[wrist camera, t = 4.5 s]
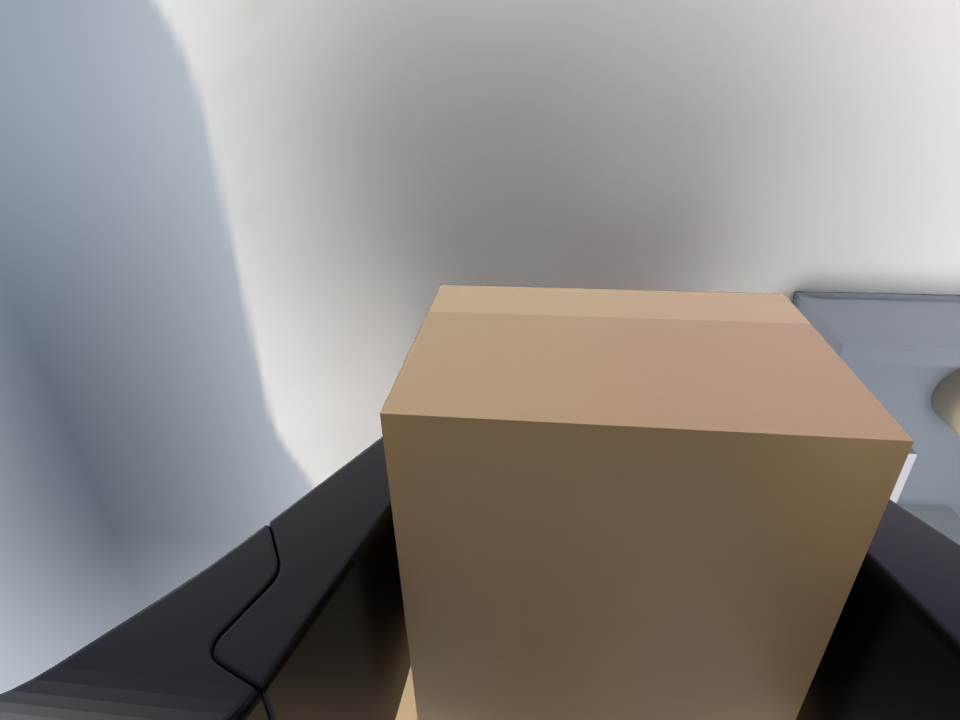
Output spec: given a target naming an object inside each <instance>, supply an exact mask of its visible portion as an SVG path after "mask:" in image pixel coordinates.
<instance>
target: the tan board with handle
mask: <svg viewBox="0 0 960 720" xmlns="http://www.w3.org/2000/svg"><path fill="white" fill-rule="evenodd" d="M380 417H381V426H382V434H383V442H384V450H385V458H386V466H387V475H388V483H389V491H390V499H391V507H392V515H393V524H394V532H395V540H396V548H397V556H398V564H399V572H400V581H401V589H402V597H403V605H404V613H405V621H406V630H407V638H408V646H409V654H410V662H411V667H410V670H409V674H408V677H407V681H406V684H405V688H404V691H403V695H402V698H401V702H400V705H399V709H398V712H397V716H396V719H395V720H796V718H797V715H798V713H799V711H800V708H801V706H802V704H803V701H804V699H805V697H806V694H807V692H808V689H809V687H810V685H811V682H812V680H813V678H814V675H815V673H816V671H817V668H818V666H819V664H820V661H821V659H822V657H823V654H824V652H825V649H826V647H827V645H828V642H829V640H830V638H831V635H832V633H833V631H834V628H835V626H836V624H837V621H838V619H839V617H840V614H841V612H842V609H843V607H844V605H845V602H846V600H847V598H848V595H849V593H850V591H851V588H852V586H853V584H854V581H855V579H856V577H857V574H858V572H859V569H860V567H861V565H862V562H863V560H864V558H865V555H866V553H867V551H868V548H869V546H870V544H871V541H872V539H873V537H874V534H875V532H876V530H877V527H878V525H879V522H880V520H881V518H882V515H883V513H884V511H885V508H886V506H887V504H888V501H889V499H890V497H891V494H892V492H893V490H894V487H895V485H896V482H897V480H898V478H899V475H900V473H901V471H902V468H903V466H904V464H905V461H906V459H907V457H908V454H909V452H910V450H911V447H912V445H913V442H914V441H913V439H912V438H911V437H910V436H909V435H908V434H907V433H906V432H905V430H904V429H903V428H902V427H901V426H900V425H899V424H898V422H897V421H896V420H895V419H894V418H893V417H892V416H891V414H890V413H889V412H888V411H887V410H886V409H885V408H884V407H883V405H882V404H881V403H880V402H879V401H878V400H877V399H876V397H875V396H874V395H873V394H872V393H871V392H870V391H869V389H868V388H867V387H866V386H865V385H864V384H863V383H862V382H861V380H860V379H859V378H858V377H857V376H856V375H855V374H854V372H853V371H852V370H851V369H850V368H849V367H848V366H847V365H846V363H845V362H844V361H843V360H842V359H841V358H840V357H839V355H838V354H837V353H836V352H835V351H834V350H833V349H832V347H831V346H830V345H829V344H828V343H827V342H826V341H825V340H824V338H823V337H822V336H821V335H820V334H819V333H818V332H817V330H816V329H815V328H814V327H813V326H812V325H811V324H810V323H809V321H808V320H807V319H806V318H805V317H804V316H803V315H802V313H801V312H800V311H799V310H798V309H797V308H796V307H795V305H794V304H793V303H792V302H791V301H790V300H789V299H788V298H787V296H786V295H785V294H769V293H732V292H694V291H656V290H618V289H581V288H543V287H505V286H467V285H441V286H440V288H439V290H438V292H437V294H436V296H435V298H434V300H433V303H432V305H431V307H430V309H429V311H428V313H427V315H426V317H425V319H424V322H423V324H422V326H421V328H420V330H419V332H418V334H417V336H416V338H415V341H414V343H413V345H412V347H411V349H410V351H409V353H408V355H407V357H406V360H405V362H404V364H403V366H402V368H401V370H400V372H399V374H398V376H397V379H396V381H395V383H394V385H393V387H392V389H391V391H390V393H389V395H388V398H387V400H386V402H385V404H384V406H383V408H382V410H381V412H380Z"/></svg>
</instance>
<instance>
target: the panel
mask: <svg viewBox="0 0 960 720" xmlns="http://www.w3.org/2000/svg"><path fill="white" fill-rule="evenodd" d="M792 303H793V304H794V305H795V307H796V308H797V309H798V310H799V311H800V312H801V313H802V315H803V316H804V317H805V318H806V319H807V320H808V321H809V323H810V324H811V325H812V326H813V327H814V328H815V329H816V330H817V332H818V333H819V334H820V335H821V336H822V337H823V338H824V340H825V341H826V342H827V343H828V344H829V345H830V346H831V347H832V349H833V350H834V351H835V352H836V353H837V354H838V355H839V357H840V358H841V359H842V360H843V361H844V362H845V363H846V365H847V366H848V367H849V368H850V369H851V370H852V371H853V372H854V374H855V375H856V376H857V377H858V378H859V379H860V380H861V382H862V383H863V384H864V385H865V386H866V387H867V388H868V389H869V391H870V392H871V393H872V394H873V395H874V396H875V397H876V399H877V400H878V401H879V402H880V403H881V404H882V405H883V407H884V408H885V409H886V410H887V411H888V412H889V413H890V414H891V416H892V417H893V418H894V419H895V420H896V421H897V422H898V424H899V425H900V426H901V427H902V428H903V429H904V430H905V432H906V433H907V434H908V435H909V436H910V437H911V438H912V439H913V441H914V442H913V445H912V447H911V450H910V452H909V454H908V457H907V459H906V461H905V464H904V466H903V468H902V471H901V473H900V475H899V478H898V480H897V482H896V485H895V487H894V490H893V492H892V494H891V497H890V500H892V501H893V502H895V503H896V504H898V505H899V506H901V507H903V508H904V509H906V510H907V511H909V512H910V513H912V514H913V515H915V516H916V517H918V518H919V519H921V520H923V521H924V522H926V523H927V524H929V525H930V526H932V527H933V528H935V529H936V530H938V531H939V532H941V533H942V534H944V535H946V536H947V537H949V538H950V539H952V540H953V541H955V542H956V543H958V544H959V545H960V295H918V294H874V293H830V292H795V294H794V297H793V301H792Z"/></svg>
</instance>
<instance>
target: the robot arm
mask: <svg viewBox="0 0 960 720" xmlns="http://www.w3.org/2000/svg"><path fill="white" fill-rule="evenodd" d="M410 667H411V662H410V654H409V646H408V638H407V630H406V621H405V613H404V605H403V597H402V589H401V581H400V572H399V564H398V556H397V548H396V540H395V532H394V524H393V515H392V507H391V499H390V491H389V483H388V475H387V466H386V458H385V450H384V442H383V437H382V438H380V439H379V440H378V441H376V442H375V443H374V444H372V445H371V446H370V447H368V448H367V449H366V450H364V451H363V452H362V453H360V454H359V455H358V456H356V457H355V458H354V459H352V460H351V461H350V462H348V463H347V464H346V465H345V466H343V467H342V468H341V469H339V470H338V471H337V472H335V473H334V474H333V475H331V476H330V477H329V478H327V479H326V480H325V481H323V482H322V483H321V484H319V485H318V486H317V487H315V488H314V489H313V490H311V491H310V492H309V493H307V494H306V495H305V496H304V497H302V498H301V499H300V500H298V501H297V502H296V503H294V504H293V505H292V506H290V507H289V508H288V509H286V510H285V511H284V512H282V513H281V514H280V515H278V516H277V517H276V518H274V519H273V520H272V521H271V522H270V526H268V525H265V526H264V527H262V528H261V529H260V530H258V531H257V532H256V533H254V534H253V535H252V536H251V537H249V538H248V539H246V540H245V541H244V542H242V543H241V544H240V545H238V546H237V547H236V548H234V549H233V550H231V551H230V552H228V553H227V554H226V555H224V556H223V557H221V558H220V559H219V560H217V561H216V562H215V563H213V564H212V565H210V566H209V567H208V568H206V569H205V570H203V571H202V572H200V573H199V574H197V575H196V576H194V577H192V578H191V579H189V580H188V581H187V582H185V583H183V584H182V585H180V586H179V587H177V588H176V589H175V590H173V591H171V592H170V593H168V594H167V595H165V596H164V597H162V598H161V599H159V600H157V601H156V602H154V603H153V604H151V605H150V606H148V607H147V608H145V609H143V610H142V611H140V612H139V613H137V614H135V615H134V616H132V617H131V618H129V619H128V620H126V621H124V622H123V623H121V624H120V625H118V626H117V627H115V628H113V629H112V630H110V631H109V632H107V633H106V634H104V635H102V636H101V637H99V638H98V639H96V640H95V641H93V642H91V643H90V644H88V645H87V646H85V647H84V648H82V649H80V650H79V651H77V652H76V653H74V654H73V655H71V656H69V657H68V658H66V659H65V660H63V661H62V662H60V663H59V664H57V665H55V666H54V667H52V668H50V669H49V670H47V671H45V672H43V673H42V674H40V675H38V676H37V677H35V678H33V679H32V680H30V681H28V682H26V683H24V684H22V685H20V686H18V687H16V688H14V689H12V690H10V691H7V692H5V693H2V694H0V720H395V719H396V716H397V712H398V709H399V705H400V702H401V698H402V695H403V691H404V688H405V684H406V681H407V677H408V674H409V670H410ZM796 720H960V545H959V544H958V543H956V542H955V541H953V540H952V539H950V538H949V537H947V536H946V535H944V534H942V533H941V532H939V531H938V530H936V529H935V528H933V527H932V526H930V525H929V524H927V523H926V522H924V521H923V520H921V519H919V518H918V517H916V516H915V515H913V514H912V513H910V512H909V511H907V510H906V509H904V508H903V507H901V506H899V505H898V504H896V503H895V502H893V501H892V500H890V499H889V501H888V504H887V506H886V508H885V511H884V513H883V515H882V518H881V520H880V522H879V525H878V527H877V530H876V532H875V534H874V537H873V539H872V541H871V544H870V546H869V548H868V551H867V553H866V555H865V558H864V560H863V562H862V565H861V567H860V569H859V572H858V574H857V577H856V579H855V581H854V584H853V586H852V588H851V591H850V593H849V595H848V598H847V600H846V602H845V605H844V607H843V609H842V612H841V614H840V617H839V619H838V621H837V624H836V626H835V628H834V631H833V633H832V635H831V638H830V640H829V642H828V645H827V647H826V649H825V652H824V654H823V657H822V659H821V661H820V664H819V666H818V668H817V671H816V673H815V675H814V678H813V680H812V682H811V685H810V687H809V689H808V692H807V694H806V697H805V699H804V701H803V704H802V706H801V708H800V711H799V713H798V715H797V718H796Z"/></svg>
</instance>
